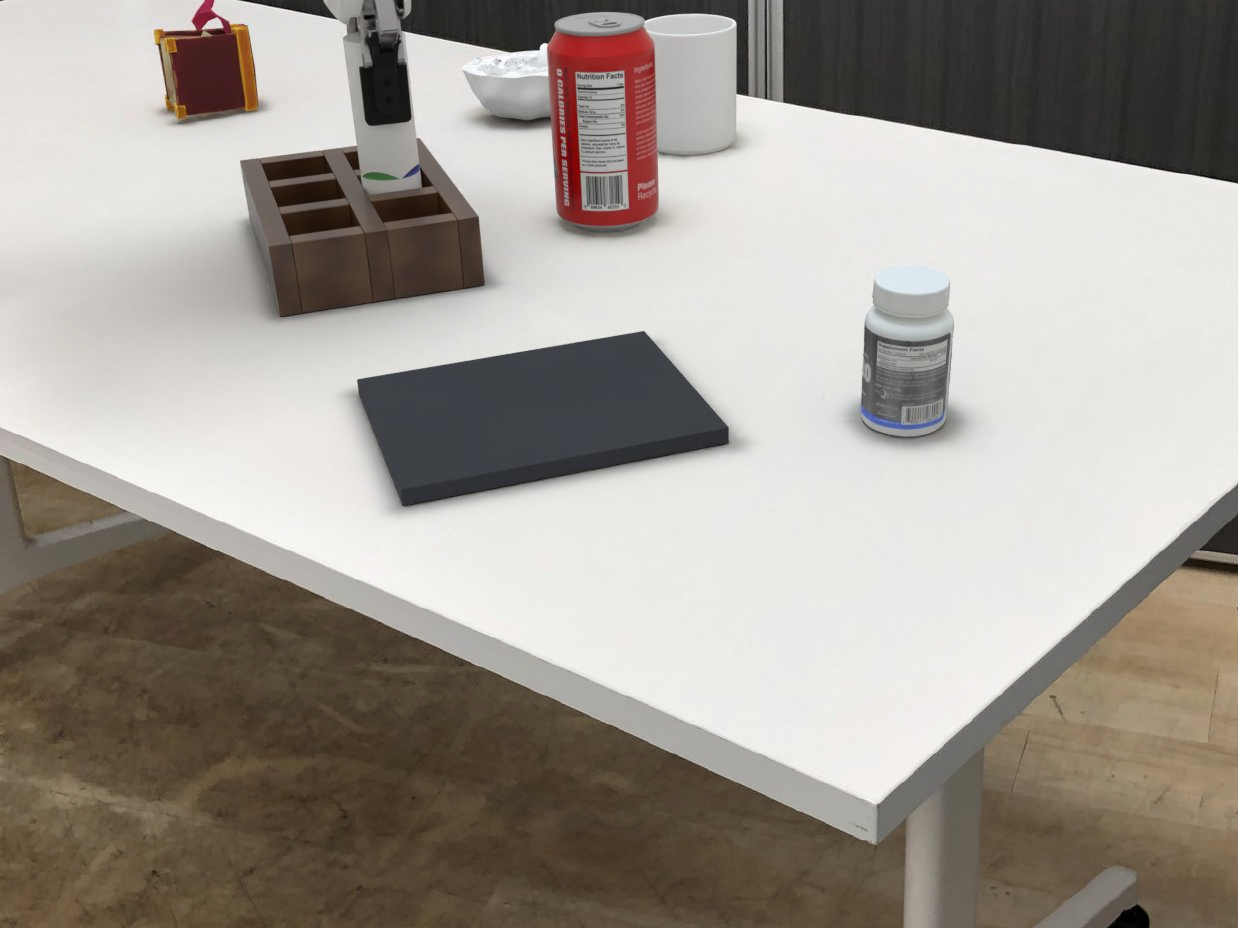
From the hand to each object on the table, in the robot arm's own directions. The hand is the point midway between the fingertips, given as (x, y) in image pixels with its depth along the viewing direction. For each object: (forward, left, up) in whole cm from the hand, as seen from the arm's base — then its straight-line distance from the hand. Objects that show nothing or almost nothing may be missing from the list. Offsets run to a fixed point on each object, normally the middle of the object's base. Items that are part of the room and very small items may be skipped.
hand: (382, 111), depth 102 cm
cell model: (+18, +30, -10) cm, 37 cm away
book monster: (-10, +48, -10) cm, 50 cm away
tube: (0, 0, -10) cm, 10 cm away
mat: (+2, -31, -10) cm, 33 cm away
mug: (+27, +15, -10) cm, 33 cm away
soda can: (+16, -1, -10) cm, 19 cm away
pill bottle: (+21, -39, -10) cm, 45 cm away
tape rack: (-3, 0, -10) cm, 11 cm away
